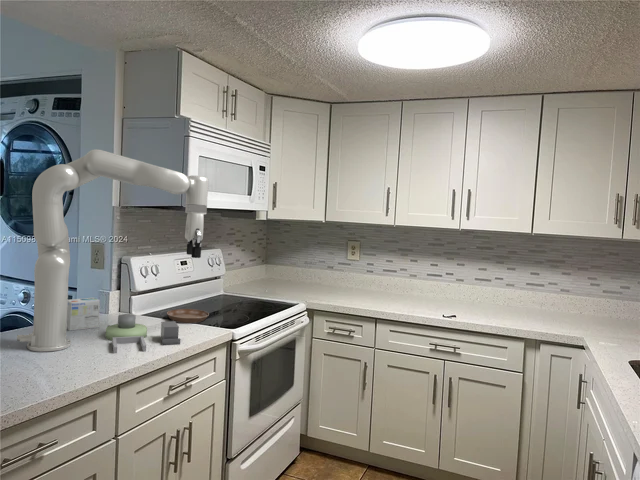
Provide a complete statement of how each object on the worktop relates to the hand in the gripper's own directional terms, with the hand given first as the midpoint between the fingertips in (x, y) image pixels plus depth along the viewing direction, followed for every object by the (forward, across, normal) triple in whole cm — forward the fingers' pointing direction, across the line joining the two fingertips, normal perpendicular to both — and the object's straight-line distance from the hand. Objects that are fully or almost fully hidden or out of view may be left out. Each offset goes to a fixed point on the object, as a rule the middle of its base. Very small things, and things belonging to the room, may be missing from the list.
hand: (193, 256), depth 171 cm
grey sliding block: (+31, 0, -7) cm, 32 cm away
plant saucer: (+32, -30, +5) cm, 44 cm away
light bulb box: (+32, -23, -36) cm, 53 cm away
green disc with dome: (+31, -2, -21) cm, 38 cm away
